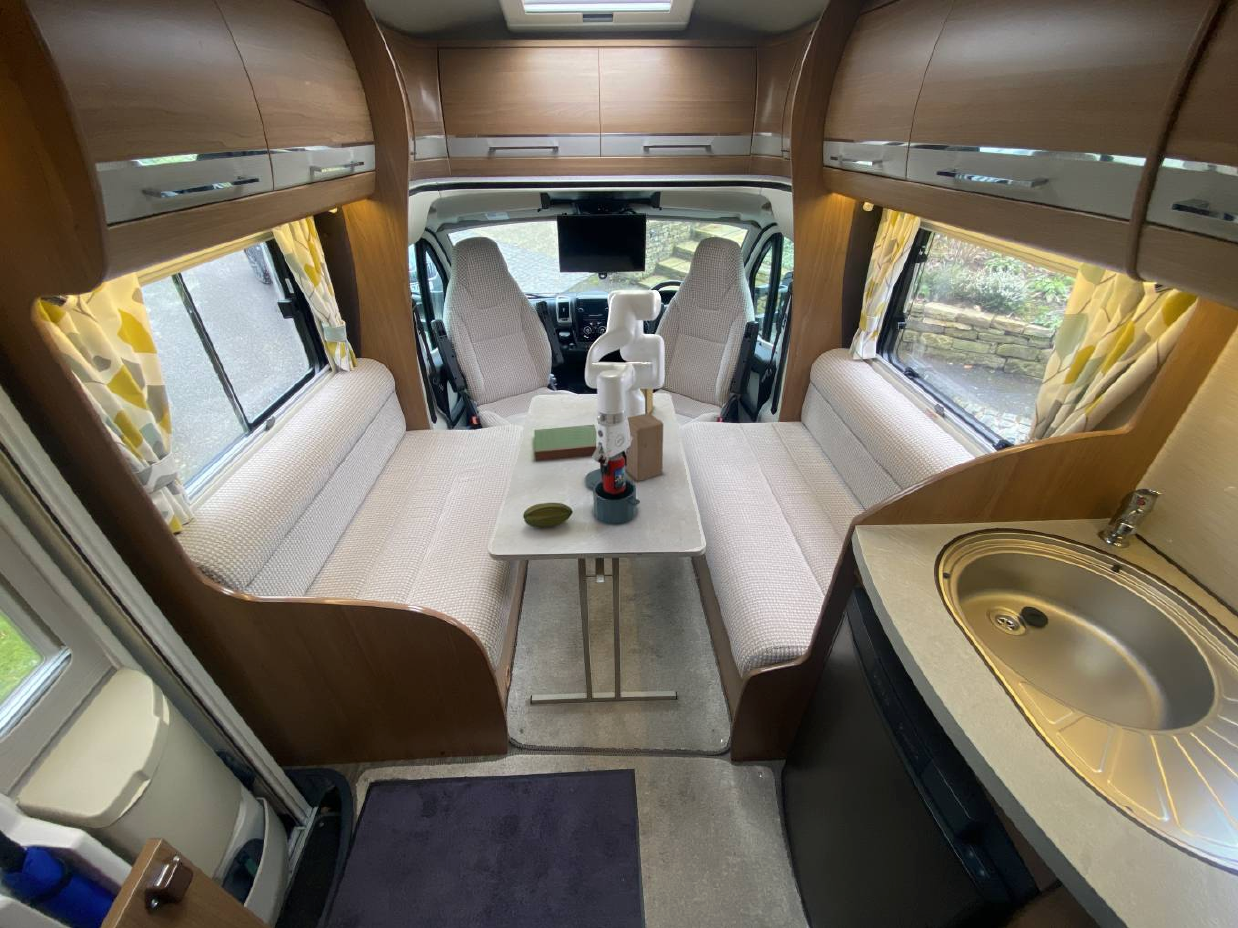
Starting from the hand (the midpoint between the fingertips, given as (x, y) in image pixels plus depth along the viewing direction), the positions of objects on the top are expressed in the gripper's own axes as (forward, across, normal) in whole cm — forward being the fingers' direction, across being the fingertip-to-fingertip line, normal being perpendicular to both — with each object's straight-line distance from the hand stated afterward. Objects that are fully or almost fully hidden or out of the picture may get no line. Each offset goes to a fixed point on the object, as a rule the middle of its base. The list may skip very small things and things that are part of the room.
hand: (613, 469), depth 148 cm
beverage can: (+7, 0, 0) cm, 7 cm away
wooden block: (+16, +24, +9) cm, 30 cm away
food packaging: (+16, +62, +43) cm, 77 cm away
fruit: (+16, -18, +11) cm, 26 cm away
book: (+16, +20, +44) cm, 51 cm away
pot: (+15, 0, 0) cm, 15 cm away
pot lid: (+15, +11, +15) cm, 24 cm away
